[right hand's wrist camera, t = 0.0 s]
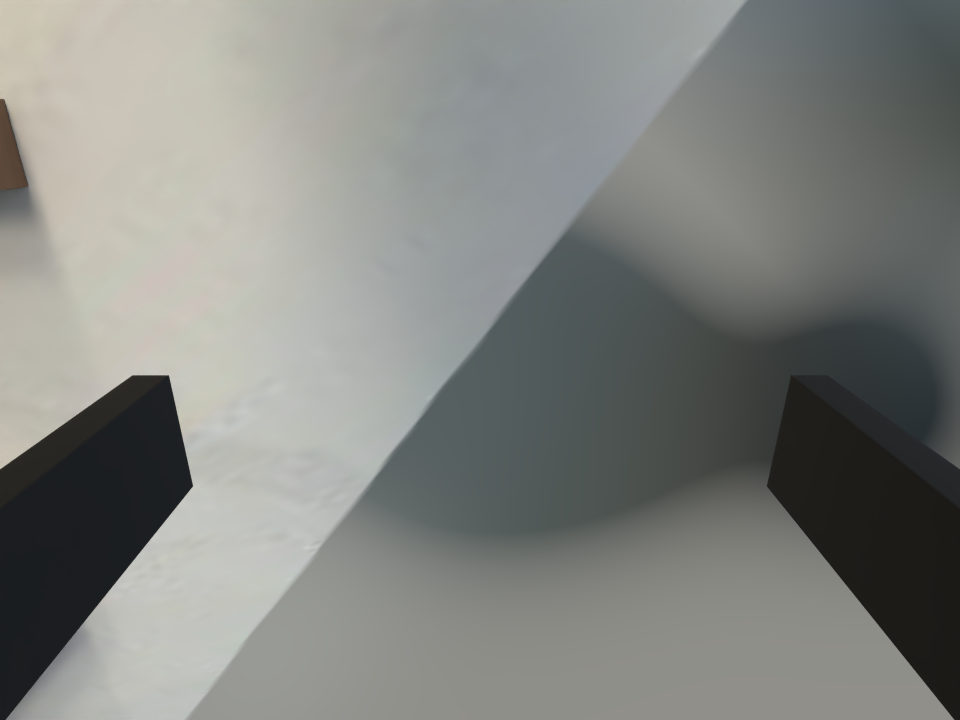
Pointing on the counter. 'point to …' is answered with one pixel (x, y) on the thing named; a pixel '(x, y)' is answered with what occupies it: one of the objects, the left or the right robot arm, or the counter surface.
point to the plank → (9, 155)
